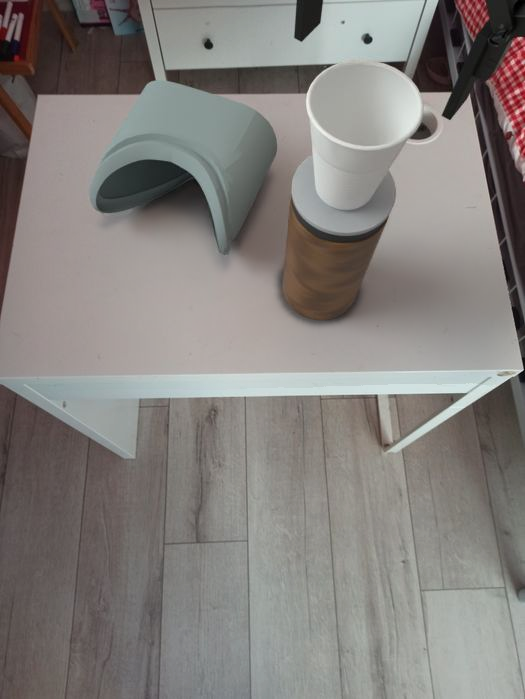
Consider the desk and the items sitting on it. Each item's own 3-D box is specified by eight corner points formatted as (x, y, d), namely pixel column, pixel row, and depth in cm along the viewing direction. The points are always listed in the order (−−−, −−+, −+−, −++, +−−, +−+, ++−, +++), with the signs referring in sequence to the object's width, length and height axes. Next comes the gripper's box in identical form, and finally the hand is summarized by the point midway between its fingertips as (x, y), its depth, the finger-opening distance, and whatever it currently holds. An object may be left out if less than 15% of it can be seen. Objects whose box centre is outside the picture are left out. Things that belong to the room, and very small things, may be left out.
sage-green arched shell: (276, 176, 79) (278, 113, 67) (231, 273, 73) (225, 222, 61) (153, 137, 81) (134, 69, 69) (100, 227, 75) (69, 170, 63)
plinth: (370, 279, 72) (409, 193, 54) (329, 334, 69) (355, 263, 51) (310, 241, 75) (327, 145, 56) (267, 292, 72) (270, 209, 53)
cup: (287, 217, 50) (294, 136, 39) (307, 142, 53) (318, 50, 43) (383, 237, 49) (416, 159, 39) (397, 160, 52) (431, 70, 42)
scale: (409, 193, 54) (415, 179, 51) (355, 263, 51) (359, 251, 48) (327, 145, 56) (330, 130, 54) (270, 209, 53) (270, 196, 51)
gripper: (187, -477, 20) (224, 27, 40) (821, -300, 15) (499, 175, 35) (293, -524, 22) (278, -23, 42) (881, -383, 17) (544, 111, 37)
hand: (378, 68), depth 38 cm, fingers open, 13 cm apart
